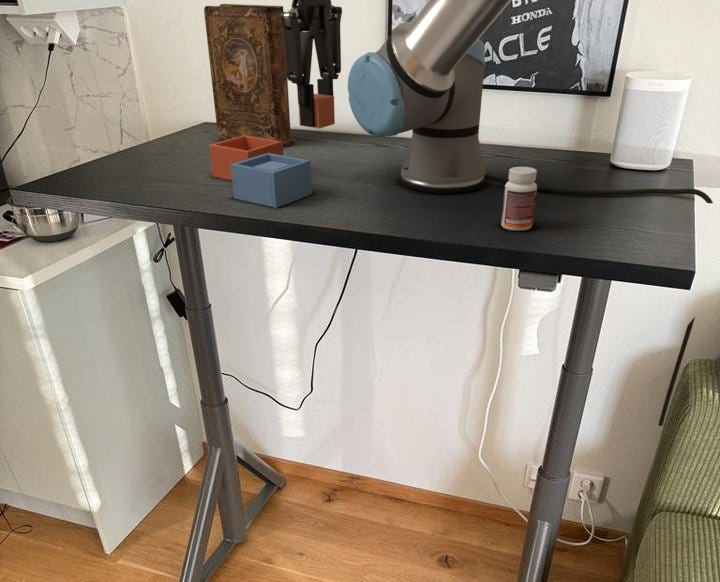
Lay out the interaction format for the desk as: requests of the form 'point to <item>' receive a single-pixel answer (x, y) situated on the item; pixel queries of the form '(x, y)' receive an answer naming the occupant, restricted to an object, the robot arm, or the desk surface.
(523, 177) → the pill bottle
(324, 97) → the clay block
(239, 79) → the book
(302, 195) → the blue bin
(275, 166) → the blue block
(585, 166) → the desk surface
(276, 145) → the clay bin
